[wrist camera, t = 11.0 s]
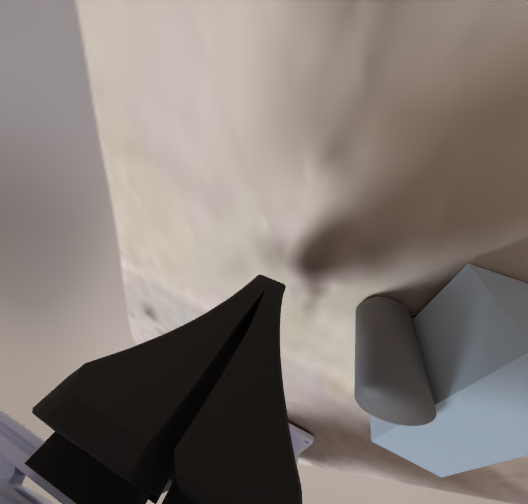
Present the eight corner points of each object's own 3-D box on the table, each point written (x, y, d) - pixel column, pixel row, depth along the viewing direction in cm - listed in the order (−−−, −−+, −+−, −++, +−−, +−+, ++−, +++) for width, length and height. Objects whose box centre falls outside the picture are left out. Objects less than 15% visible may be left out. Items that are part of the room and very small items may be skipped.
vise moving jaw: (424, 390, 12) (449, 492, 9) (329, 347, 13) (319, 424, 10) (567, 296, 7) (735, 439, 4) (402, 241, 8) (430, 319, 5)
